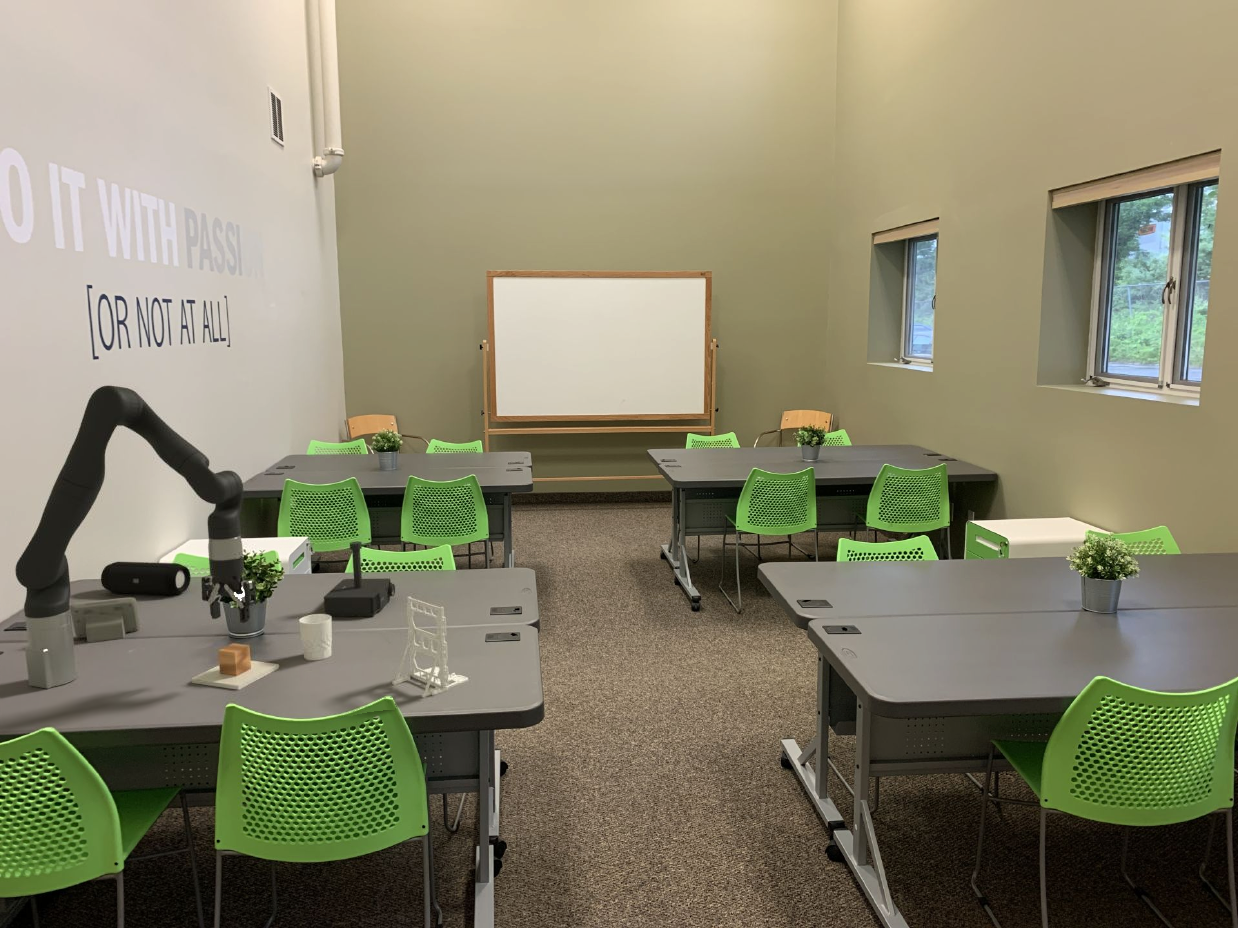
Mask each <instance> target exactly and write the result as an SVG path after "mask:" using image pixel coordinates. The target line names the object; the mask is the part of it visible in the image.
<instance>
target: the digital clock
mask: <svg viewBox="0 0 1238 928" xmlns="http://www.w3.org/2000/svg"><path fill="white" fill-rule="evenodd" d="M70 614H71V621H72V624H73V625H72V626H73V630H74V634H75V636H76V637H77V638H79V639H81V638H82V639H83V638H86V641H87V643H96V642H103V641H111V640H120V639H124V638H125V637H126V634H127V633H130V632H136V631H138V630H140V629H141V622H140V616H139V610H138V603H137V600H136V598H135V597H123V598H122V597H121V598H112V599H102V600H94V601H93V600H91V601H86V602H76V603H73V604H71V605H70Z"/></svg>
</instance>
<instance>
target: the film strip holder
mask: <svg viewBox="0 0 1238 928" xmlns="http://www.w3.org/2000/svg"><path fill="white" fill-rule="evenodd" d="M406 598H407V599H406V600H407V601H406V602H407V605H406V612H407V613H406V614H407V617H406V618H407V624H408V630H407V632H408V635H407V636H406V639H407V644H406V646H405V650H404V653H403V654H402V658H401V661H400V664H399V667H398V669H397V673H396V676H395V679H392V681H391V684H392V685H393V686H395V685H398V684H400V683H404V682H406V681H410V680H411V678H414V679H416V680H419V681H421V682H423V683H425V684H426V686H425V688H424V692H421V693H420V697H421V698H427V697H429V696H436V695H440V694H442V693H444V692H448V690H449V689H451V688H454V687H456V686H458V685H459V686H460V685H462V684H464V683H467V682H469V677H467V676H464V675H460V674H456V673H455V672H453V673H451V674H450V672H449V667H448V666H447V662H448V660H449V657H448V642H447V641H446V637H447V618H446V617H445V609H444V608H445V607H443V606H441V607H440V606H437V605H433V604H431V603H427V602H424V601H421V600H419V599H415V598H413V597H411V596H407V597H406ZM413 605H416V606H415V607H413ZM419 606H420V607H422V610H421V609H419ZM427 609H429V612H427ZM433 611H435V612H436V615H435V614H434V613H433ZM415 612H416V613H419V614H422V615H425V616H427V617H428V616H429V617H431V618H434V620H435V624H436V627H437V631H436V633H435V634H434V633H431V632H429V631H426V630H423V629H421V628H418V627H416V625H415V622H414V618H413V617H414V614H415ZM416 636H419V640H418V641H419V644H418V643H416ZM424 639H427V647H425V643H424ZM433 642H435V643H436V644H437V646H436V647H435V648H436V651H435V650H434V646H433ZM408 649H409V654H408V655H409V669H410V672H409V673H403V674H402V675H401V673H402V669H403V667H404V663H405V661H406V660H405V659H406V658H407V653H408ZM417 652H418V653H420V654H423V655H425V656H428V657H430V658H433V659H434V662H433V665H432V667H429V668H426V669H422V668H420V667H418V665H417V661H416V659H415V658H416V654H417ZM436 664H438V666H436ZM416 671H417V672H416ZM424 675H425V676H424ZM451 681H453V683H450V682H451ZM430 686H432V687H434V688H430Z"/></svg>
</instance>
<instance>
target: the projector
mask: <svg viewBox="0 0 1238 928" xmlns="http://www.w3.org/2000/svg"><path fill="white" fill-rule="evenodd" d="M362 548H363V545H362V541H352V542H349V550H351V552H352V553H351V554H352V569H353V578H345V579H342V580H341V581H339V582H338V583H337V584H336V585H335V586H334V587H333V588H332V589H331V590H329V591H328V593H326V594H325V595H324V596H323V606H324V607H323V608H324V614H327V615H330V616H331V618H334V617H337V618H338V617H339V618H341V617H348V618H349V617H351V618H352V617H374V616H375V615H376V614H378V613H380V612H381V611H382V610H383V609H384V607H386V605H387V604H388V603H389V601H391V597H394V596H395V594H396V585H395V584H394V583H393V582H391V578H363V577H362V576H363V575H362V563H361V562H362V561H361V559H362V558H361V549H362Z"/></svg>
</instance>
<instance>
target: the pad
mask: <svg viewBox="0 0 1238 928" xmlns="http://www.w3.org/2000/svg"><path fill="white" fill-rule="evenodd" d="M279 669H280V665H279V664H278V663H271V662H262V661H259V660H257V661H256V660H251V669H250V670H248V671H246V672H244V673H242V674H240V675H238V676H231V675H224V674H220V668H219V664H218V665H216V666H215V667H212V668H210V669H209V670H206V671H204V672H202V673H200V674H199V675H198V674H197V675H196V676H194V677H192V678H191V683H192V684H199V685H203V686H204V685H205V686H210V687H217V688H225V689H232V690H242V689H243V688H245V687H246V686H249V685H250V684H252V683H254V682H256V681H257V680H259V679H261V678H263V677H265V676H267V675H269V674H271V673H273V672H275V671H276V670H279Z"/></svg>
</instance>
